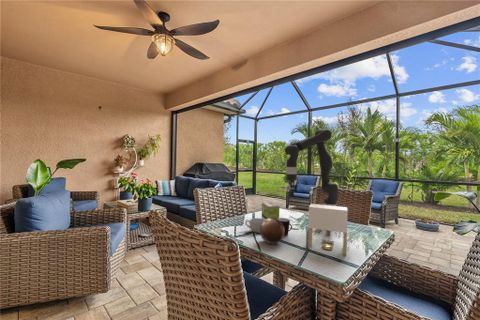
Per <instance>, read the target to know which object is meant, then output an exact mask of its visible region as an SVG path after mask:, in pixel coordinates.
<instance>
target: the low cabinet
mask: <svg viewBox="0 0 480 320" xmlns="http://www.w3.org/2000/svg"><path fill="white" fill-rule="evenodd" d="M313 229H314V230H321V231H322V230H323V231H327V230H329V231H331V232H336V233H337V232H338V233H343V236H342V237H343V239H342V240H343V241H342V242H343V243H342V251H343V255H344V256H347V249H348V245H347V243H348V240H347V239H348V207H347V206H337V205H336V206H329V205H324V204H319V203H318V204H316V203H310V205H309V206H308V235H307V236H308V237H307V239H308V240H307V249H308V250H311V249H312V245H313Z"/></svg>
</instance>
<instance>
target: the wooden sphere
mask: <svg viewBox="0 0 480 320" xmlns="http://www.w3.org/2000/svg"><path fill="white" fill-rule="evenodd" d="M284 233H285V230H284V226H283V224H282V223H281V222H280V221H279V220H278V219H276V218H268V219H266V220H264V221H263V222H262V223H261V225H260V233H259V235H260V237H261V238H262V240H263V241H264V242H266V243H268V244H271V245H274V244H277V243H279V242H280V241H282V240H283V238H284V237H285V236H284Z"/></svg>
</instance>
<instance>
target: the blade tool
mask: <svg viewBox="0 0 480 320" xmlns="http://www.w3.org/2000/svg"><path fill="white" fill-rule="evenodd" d="M325 231H326V234H324V237H323V238H321V244H330V245H332V246H334V244H335V241H334V240H332V239H333V236H332V235H331V232H332V231H329V230H325Z"/></svg>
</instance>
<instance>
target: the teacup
mask: <svg viewBox="0 0 480 320" xmlns="http://www.w3.org/2000/svg"><path fill="white" fill-rule="evenodd" d="M263 221H264V219H262V218H259V217H255V218H254V217H253V218H250V220H249V219H246V220H245V222H244V225H245V226H247V227H248V228H249V229H250V230H251V232H253V233H257V234H260V225H261V223H262V222H263ZM247 222H248V223H247Z"/></svg>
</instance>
